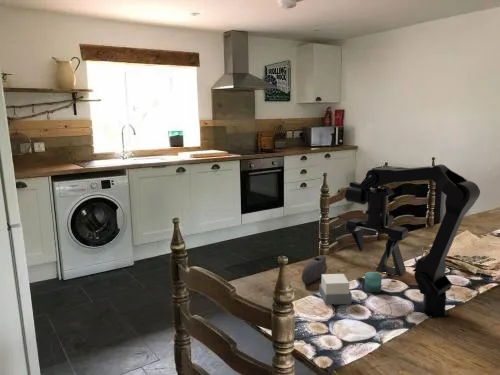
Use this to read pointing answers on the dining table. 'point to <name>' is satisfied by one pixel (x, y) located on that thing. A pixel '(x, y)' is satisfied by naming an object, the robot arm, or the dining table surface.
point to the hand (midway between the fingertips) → (374, 254)
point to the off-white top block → (335, 284)
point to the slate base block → (335, 297)
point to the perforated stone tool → (314, 269)
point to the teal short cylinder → (373, 282)
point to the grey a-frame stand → (397, 261)
